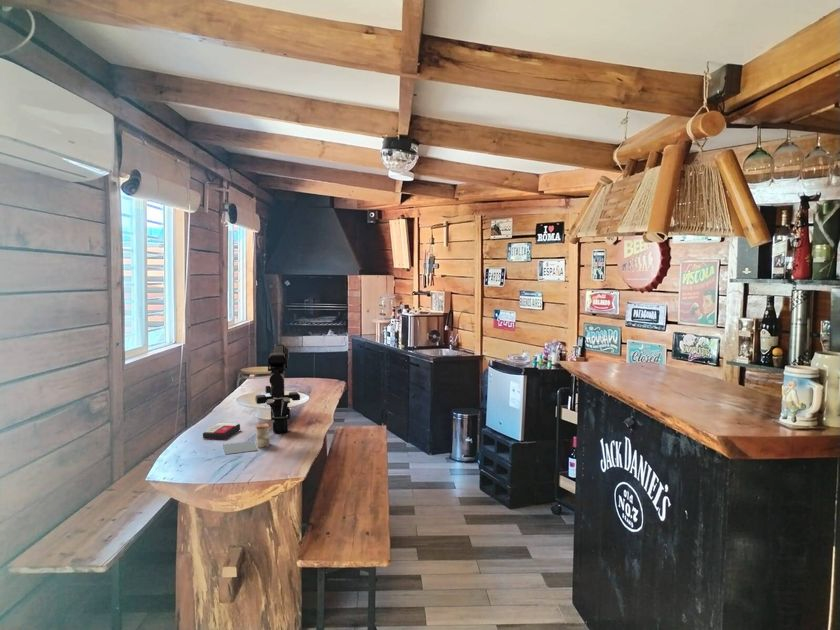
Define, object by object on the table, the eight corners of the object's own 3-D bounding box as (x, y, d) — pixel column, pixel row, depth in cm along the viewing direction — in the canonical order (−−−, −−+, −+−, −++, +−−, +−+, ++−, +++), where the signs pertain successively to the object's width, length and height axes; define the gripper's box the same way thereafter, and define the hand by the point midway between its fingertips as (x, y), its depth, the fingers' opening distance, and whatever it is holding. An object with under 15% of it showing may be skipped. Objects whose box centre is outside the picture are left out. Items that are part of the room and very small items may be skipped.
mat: (253, 441, 241) (253, 440, 241) (257, 450, 228) (257, 449, 228) (223, 445, 235) (223, 444, 235) (225, 454, 223) (225, 454, 223)
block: (267, 442, 239) (267, 423, 238) (269, 446, 234) (268, 426, 234) (256, 444, 237) (255, 424, 236) (257, 447, 232) (257, 427, 232)
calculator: (202, 431, 245) (219, 421, 259) (202, 440, 245) (219, 429, 260) (224, 432, 243) (240, 422, 258) (224, 441, 243) (240, 430, 258)
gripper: (295, 377, 248) (295, 410, 249) (253, 380, 240) (254, 414, 241) (300, 381, 238) (300, 416, 239) (256, 385, 230) (257, 420, 231)
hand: (278, 416), depth 238 cm, fingers open, 3 cm apart
